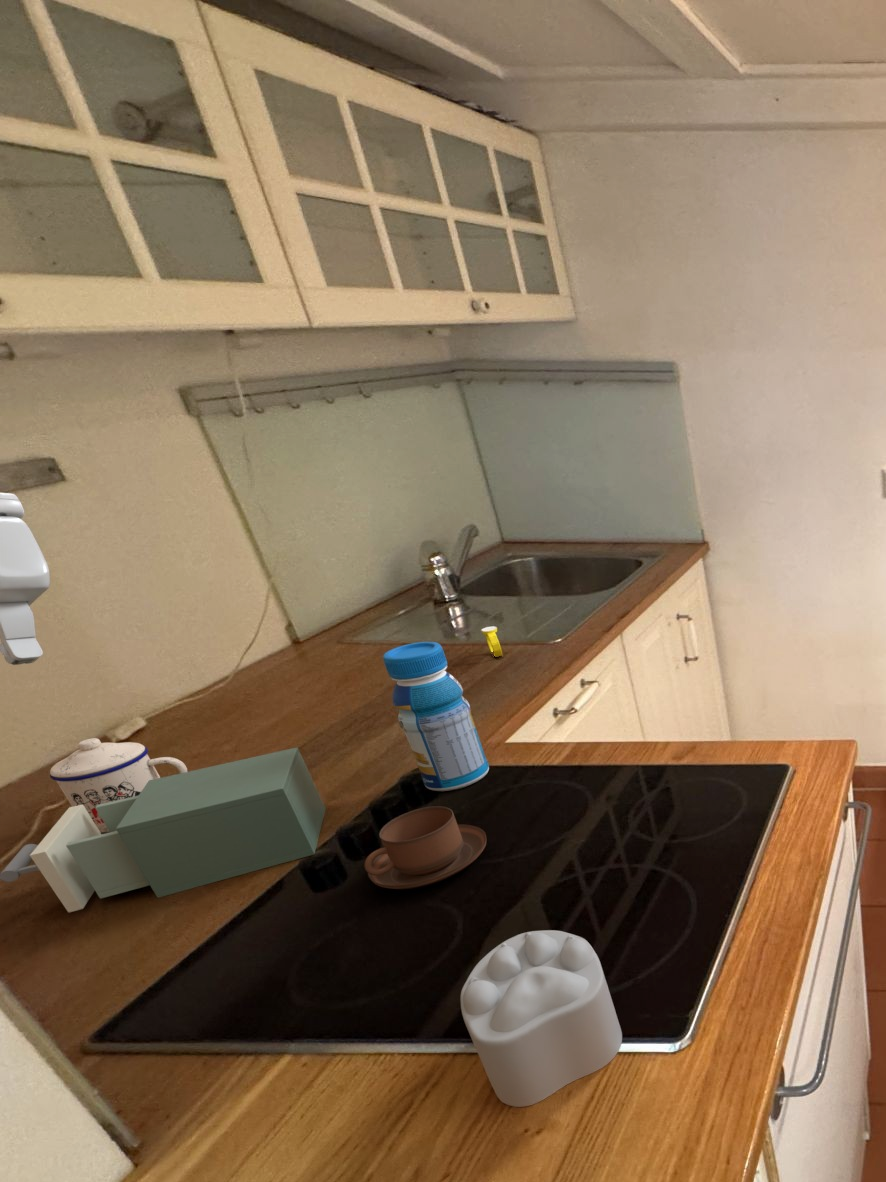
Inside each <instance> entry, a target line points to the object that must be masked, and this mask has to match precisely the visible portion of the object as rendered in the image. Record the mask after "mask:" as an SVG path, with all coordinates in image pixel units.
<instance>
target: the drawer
mask: <svg viewBox="0 0 886 1182" xmlns="http://www.w3.org/2000/svg"><path fill="white" fill-rule="evenodd" d="M138 796H139V795H138ZM138 796H134V797H130V798H125V799H121V800H117V801H112V802H108V803H103V804H99V805H97V806H96V807H95V809H96V810H97V812H98V813H99V815H100V817H101V818H102V820H103V822H104V823H105V825H106V826H107V828H108V830H109V831H110V832H107V833H100V831H99V830H98V828H97V826H96V825H95V823H94V822H93V820H92V818H91V817H90V815H89V813H88V812H87V810H86V809H85V807H84V805H83V804H82V805H78V806H73V807H72V806H69V807H68V808H67V809H66V810H65V812H63V814H62V815H61V817H60V818H59V819H57V821H56V823H55V824H54V825H53V826H52V827H51V829H49V831H48V832H47V833H46V835H45V836H44V837H43V838H42V839H41V841H40V842H39V843H38V844H35V843H28V844H25V845H23V846H22V847H21V849H20V850H19V851H18V852H17V853H16V855H14V857H13V858H12V859H11V860H10V861H9V862H8V864H7V865H6V866H5V867H4V868H3V870H2V871H1V872H0V880H1V881H2V882H8V883H9V882H11V883H12V882H15V881H17V880H18V879H19V878H20V877H21V876H23V875H26V874H30V873H34V872H38V871H39V872H40V873H41V874H42V875H43V877H44V879H45V880H46V882H47V883H48V885H49V886H50V888H51V889H52V891H53V892H54V893H55V895H56V897H57V898H58V900H59V901H60V902H61V904H62V905H63V907H64V908H65V910H66V911H67V913H68V914H69V913H72V912H76V911H80V910H83V909H85V907H86V905H87V904H88V902H89V900H90V899H91V897H92V896H93V894H94V893H96V895H97V897H98V898H99V899H104V898H108V897H112V896H115V895H116V896H117V895H120V894H123V893H127V892H130V891H134V890H137V889H141V888H145V887H149V886H150V885H149V883H148V881H147V880H146V878H145V876H144V875H143V873H142V871H141V870H140V868H139V866H138V865H137V863H136V862H135V860H134V858H133V857H132V855H131V853H130V852H129V850H128V848H127V847H126V845H125V843H124V842H123V840H122V838H121V837H120V835H119V833H118V832H117V830H116V828H117V826H118V825H119V823H120V822H121V820H122V819H123V818H124V816H125V815H126V813H127V812H128V810H129V809H130V807H131V806H132V804H133V803H134V802H135V800H136V799H137V797H138ZM32 862H34V864H31V863H32ZM30 864H31V865H30Z"/></svg>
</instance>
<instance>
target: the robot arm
mask: <svg viewBox="0 0 886 1182" xmlns="http://www.w3.org/2000/svg"><path fill="white" fill-rule="evenodd" d="M24 516H25V509H24V506H23V505H22V503H21V500H20V499H19V497H18V496H17V495H16V494H14V493H11V492H0V653H1V655H3V658H4V661H5V662H6V663H8V664H10V665H13V666H18V665H23V664H25V665H26V664H28V665H29V664H33V663H35V662H36V661H38V659H40V658H41V657H42V656H43V655H44V651H43V649H42V647H41V645H40V644H39V641H38V640H37V638H36V637H37V636H36V626H35V617H34V616H35V615H34V613H33V611H32V609H31V607H30V606H31V605H32V604H33V603H35V601H37V599H38V598H40V597H41V596H42V595H43V594H44V593H46V591H47V590H48V589H50V585H51V574H50V568H49V564H48V563H47V560H46V558H45V556H44V554H43V552H42V550H41V548H40V545H39V543H38V542H37V540H36V538H35V536H34V534H33V532H32V530H31V528H30V526H28V523H26V522H25V520H23V518H24Z"/></svg>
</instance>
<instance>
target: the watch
mask: <svg viewBox="0 0 886 1182" xmlns="http://www.w3.org/2000/svg"><path fill="white" fill-rule="evenodd" d="M480 632H481V634H482V635H485V638H486V642H487V646H488V648H489V651H490V653H491V652H493V651H494V656H495V657H497V656H501V655H502V656H503V651H502V646H501V644H500V641H499V639H498V636H497V634H496V633H497V632H498V627H497V626H494V625H493V626H486V627H483V628H481V629H480ZM494 656H493V657H494Z"/></svg>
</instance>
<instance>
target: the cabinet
mask: <svg viewBox="0 0 886 1182" xmlns="http://www.w3.org/2000/svg"><path fill="white" fill-rule="evenodd" d="M326 809H327V808H326V806H325V804H324V802H323V799H322V796H321V795H320V793H319V791H318V788H317V787H316V784H315V781H314V780H313V778H312V775H311V773H310V771H309V769H308V766H307V764H306V762H305V759H304V758H303V756H302V754H301V751H300V750H299V748H298V747H293V748H289V749H283V750H279V751H274V752H270V753H266V754H261V755H257V756H252V757H249V758H248V757H247V758H244V759H239V760H234V761H230V762H226V763H221V764H216V765H213V766H208V767H203V768H199V769H193V770H190V771H188V772H185V773H175V774H173V775H167V776H163V777H160V778H158V779H153V780H149V781H148V783H147V784H146V785H145V787H144V788H143V790H142V791H141V793H140V794H139V796H138V797H137V799H136V800H135V802H134V803H133V804H132V806H131V807H130V809H129V810H128V812H127V813H126V815H125V816H124V818H123V819H122V820H121V822H120V823H119V825H118V826H117V828H116V830H117V832H118V833H119V835H120V837H121V838H122V840H123V842H124V843H125V845H126V847H127V848H128V850H129V852H130V853H131V855H132V857H133V858H134V860H135V862H136V863H137V865H138V866H139V868H140V870H141V871H142V873H143V875H144V876H145V878H146V880H147V881H148V883H149V886H150V888H151V889H152V891H153V893H154V895H155V896H156V898H157V899H159V898H163V897H166V896H170V895H173V894H177V893H180V892H184V891H187V890H193V889H195V888H197V887H202V886H207V885H209V884H213V883H216V882H220V881H224V880H227V879H228V880H229V879H231V878H235V877H239V876H241V875H245V874H249V873H252V872H256V871H259V870H263V869H267V868H271V867H274V866H277V865H282V864H285V863H288V862H292V861H295V860H299V859H303V858H307V857H310V856H313V855H315V854H316V850H317V846H318V843H319V842H318V841H319V837H320V834H321V829H322V825H323V821H324V817H325V813H326Z"/></svg>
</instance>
